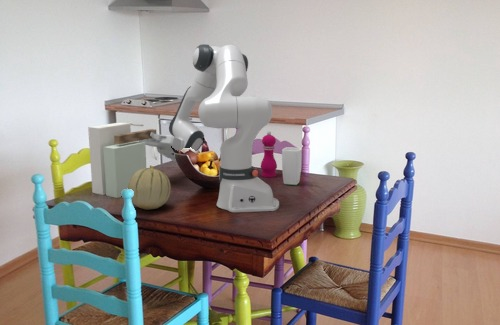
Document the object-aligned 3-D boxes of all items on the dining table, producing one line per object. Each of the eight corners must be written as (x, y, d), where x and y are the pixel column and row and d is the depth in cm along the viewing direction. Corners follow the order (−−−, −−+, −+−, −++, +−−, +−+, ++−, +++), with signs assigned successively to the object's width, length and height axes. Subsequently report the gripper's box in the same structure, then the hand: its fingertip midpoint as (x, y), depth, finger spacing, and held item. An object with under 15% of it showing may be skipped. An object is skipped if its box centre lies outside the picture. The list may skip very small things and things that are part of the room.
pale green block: (136, 187, 217) (134, 141, 213) (147, 189, 214) (145, 142, 210) (106, 195, 204) (103, 147, 200) (117, 198, 201) (114, 148, 197)
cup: (280, 185, 219) (281, 150, 216) (285, 181, 226) (285, 147, 222) (298, 186, 217) (298, 151, 213) (302, 182, 223) (302, 147, 220)
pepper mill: (275, 174, 239) (276, 130, 235) (277, 177, 232) (278, 132, 228) (259, 174, 239) (260, 130, 235) (261, 178, 232) (261, 132, 228)
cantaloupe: (128, 216, 179) (126, 172, 176) (129, 204, 193) (127, 163, 190) (172, 213, 182) (171, 170, 179) (170, 201, 196) (168, 161, 193)
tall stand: (123, 184, 221) (119, 122, 216) (133, 186, 218) (130, 123, 213) (92, 192, 208) (88, 127, 203) (102, 194, 205) (98, 128, 200)
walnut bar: (151, 136, 219) (151, 129, 218) (156, 137, 217) (156, 129, 216) (114, 143, 202) (113, 135, 202) (119, 144, 201) (119, 136, 200)
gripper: (151, 136, 232) (130, 124, 220) (187, 141, 220) (167, 128, 209) (147, 150, 230) (125, 138, 219) (183, 155, 219) (162, 143, 208)
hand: (146, 133), depth 214 cm, fingers closed on walnut bar, 3 cm apart
